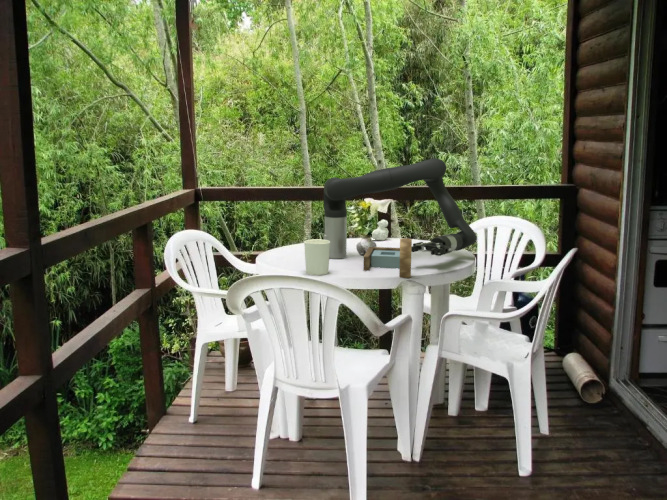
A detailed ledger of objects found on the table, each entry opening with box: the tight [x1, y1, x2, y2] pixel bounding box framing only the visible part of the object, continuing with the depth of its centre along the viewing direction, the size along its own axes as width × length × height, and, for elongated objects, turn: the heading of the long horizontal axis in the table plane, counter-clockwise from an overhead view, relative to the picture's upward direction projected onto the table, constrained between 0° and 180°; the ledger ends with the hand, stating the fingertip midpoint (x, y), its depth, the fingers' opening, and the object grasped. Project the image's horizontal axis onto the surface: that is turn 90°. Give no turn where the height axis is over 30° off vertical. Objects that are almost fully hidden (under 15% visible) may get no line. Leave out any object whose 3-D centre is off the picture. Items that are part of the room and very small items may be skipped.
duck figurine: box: [371, 219, 390, 242], centre depth 317 cm, size 12×8×11 cm
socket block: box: [370, 250, 400, 270], centre depth 261 cm, size 12×12×5 cm
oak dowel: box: [398, 237, 413, 279], centre depth 240 cm, size 4×4×14 cm
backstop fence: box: [363, 246, 400, 271], centre depth 260 cm, size 16×20×6 cm
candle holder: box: [303, 238, 330, 276], centre depth 246 cm, size 10×10×12 cm
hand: (421, 250), depth 248 cm, fingers open, 8 cm apart
